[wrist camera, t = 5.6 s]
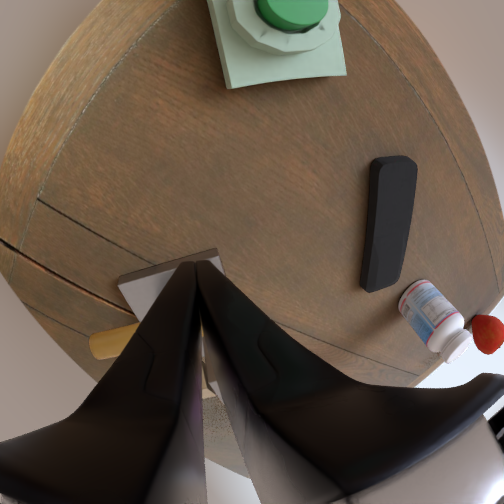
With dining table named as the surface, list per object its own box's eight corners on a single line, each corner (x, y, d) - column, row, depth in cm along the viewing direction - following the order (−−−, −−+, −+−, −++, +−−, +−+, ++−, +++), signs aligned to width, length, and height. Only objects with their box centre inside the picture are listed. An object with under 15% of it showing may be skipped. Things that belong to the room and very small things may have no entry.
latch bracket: (119, 276, 22) (101, 369, 14) (217, 247, 23) (239, 339, 15) (169, 355, 29) (175, 434, 21) (245, 336, 30) (268, 414, 22)
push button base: (199, -30, 11) (204, -53, 8) (307, -35, 12) (332, -52, 8) (226, 89, 17) (237, 88, 13) (331, 75, 17) (361, 75, 14)
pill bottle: (413, 311, 37) (454, 364, 27) (389, 310, 34) (433, 371, 25) (435, 279, 34) (482, 331, 25) (413, 274, 32) (466, 334, 23)
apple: (489, 303, 48) (515, 331, 39) (470, 330, 52) (493, 358, 43) (479, 303, 45) (507, 335, 36) (458, 332, 49) (483, 364, 40)
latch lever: (89, 321, 13) (88, 362, 11) (191, 294, 13) (199, 338, 12) (165, 379, 21) (169, 405, 20) (232, 363, 22) (239, 390, 20)
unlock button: (251, -18, 10) (259, -28, 9) (309, -18, 10) (321, -26, 9) (263, 32, 12) (272, 26, 11) (320, 30, 12) (334, 25, 11)
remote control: (367, 156, 22) (358, 289, 30) (378, 161, 21) (366, 299, 29) (406, 153, 23) (392, 277, 31) (418, 158, 21) (400, 286, 29)
